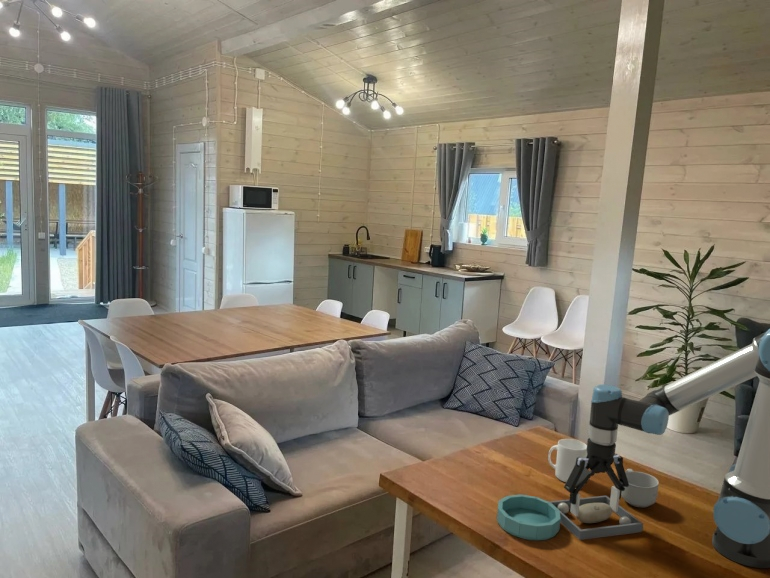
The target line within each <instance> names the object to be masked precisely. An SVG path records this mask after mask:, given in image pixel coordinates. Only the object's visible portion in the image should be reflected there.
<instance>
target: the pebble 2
mask: <svg viewBox="0 0 770 578" xmlns="http://www.w3.org/2000/svg"><path fill="white" fill-rule="evenodd" d="M618 521H619V522H618V523H619V525H623V524H631V520H630V519H629V518H628V517H626V516H623V517H620V518H619V520H618Z"/></svg>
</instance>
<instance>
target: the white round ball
mask: <svg viewBox="0 0 770 578" xmlns="http://www.w3.org/2000/svg"><path fill="white" fill-rule="evenodd" d="M558 509H559V510H560V511H561V512H562V513H563V514H564V515H566V514H568V513H569V512H570V508H569V506H568V505H567V504H566V503H560V504H559V505H558Z"/></svg>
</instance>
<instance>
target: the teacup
mask: <svg viewBox="0 0 770 578" xmlns="http://www.w3.org/2000/svg"><path fill="white" fill-rule="evenodd" d="M625 473H626V476H627V480H628V483H629V486H628V487H625V490H624V491H622V493H621V498H623V500H624V501H626V503H627V504H629V506H633V507H635V508H641V509H642V508H648V507H649V506H652V505H654V504H655V503H656V502H657V499H658V493H659V492H658V491H659V485H660V482H659V480H658V478H656V477H655V476H653V475H651V474H649V473H646V472H642V471H636V470H635V471H634V470H633V469H632V468H627V469H625Z"/></svg>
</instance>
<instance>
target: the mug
mask: <svg viewBox="0 0 770 578" xmlns="http://www.w3.org/2000/svg"><path fill="white" fill-rule="evenodd" d="M554 450H557V451H556V459H555V464H554V463H553V461H552V459H551V454H552V452H553V451H554ZM577 457H580V458H586V457H587V443H585V441H582V440H578V439H573V438H562V439H558V441H557V444H555V445H553V446H551V447H550V449H549V450H548V456H547V458H548V460H547V461H548V463H549V465H550V467H552V468H553V469H554V470H555V473H554V474H555V475H554V476H555V477H556V478H557V479H558V480H559V481H561V482H564V483H566V482H567V480H568V478H569V476H570V474H571V472H572V470H573V468H574V466H575V464H576V458H577Z"/></svg>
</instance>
